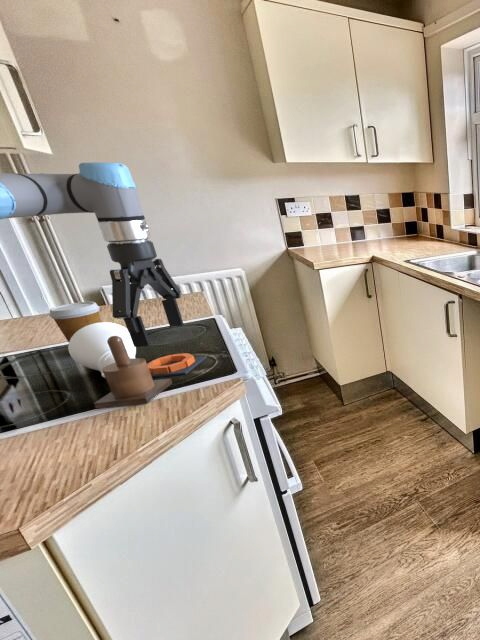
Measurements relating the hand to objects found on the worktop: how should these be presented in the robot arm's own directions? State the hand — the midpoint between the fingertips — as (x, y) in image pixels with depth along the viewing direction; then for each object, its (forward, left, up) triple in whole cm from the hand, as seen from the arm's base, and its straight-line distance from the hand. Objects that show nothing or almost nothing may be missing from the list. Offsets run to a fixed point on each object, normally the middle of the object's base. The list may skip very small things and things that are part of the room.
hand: (160, 335), depth 97 cm
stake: (0, -14, -8) cm, 16 cm away
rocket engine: (-11, -3, -8) cm, 14 cm away
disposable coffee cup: (-30, +20, -9) cm, 37 cm away
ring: (0, 0, -8) cm, 8 cm away
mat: (0, 0, -8) cm, 8 cm away
